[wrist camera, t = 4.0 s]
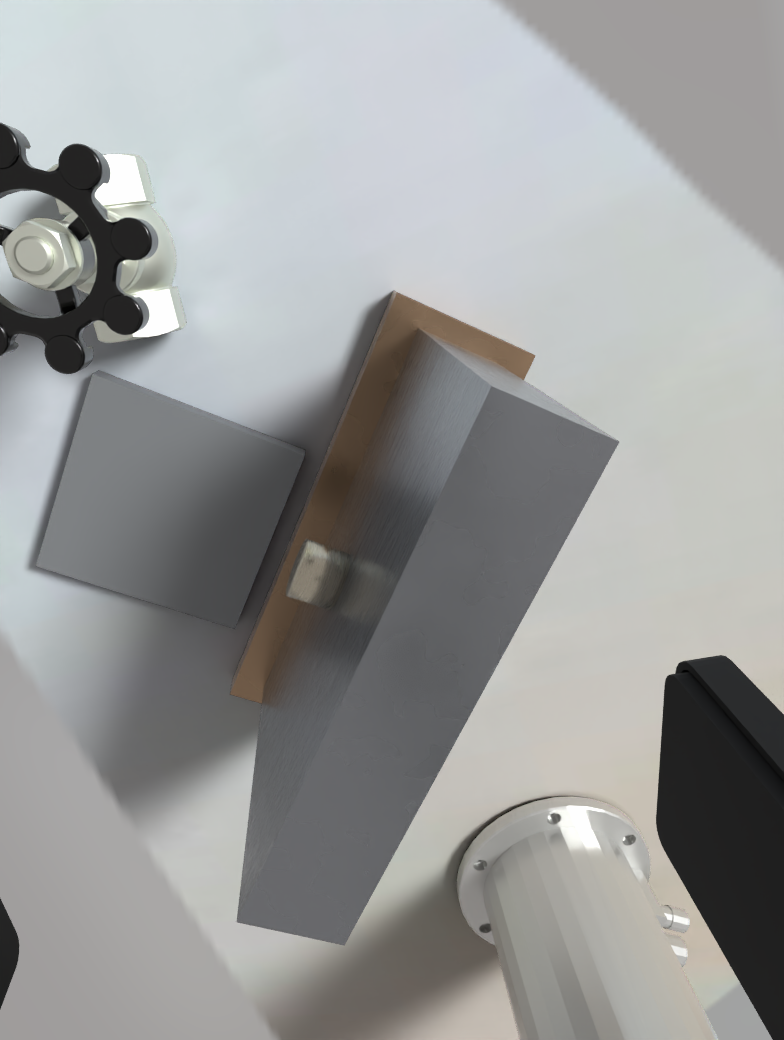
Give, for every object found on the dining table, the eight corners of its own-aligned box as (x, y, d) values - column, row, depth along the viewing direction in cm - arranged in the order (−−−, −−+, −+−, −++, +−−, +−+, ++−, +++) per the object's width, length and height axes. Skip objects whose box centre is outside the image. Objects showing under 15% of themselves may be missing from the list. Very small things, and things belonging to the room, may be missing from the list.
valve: (82, 341, 32) (-44, 393, 21) (31, 180, 29) (-141, 141, 18) (228, 316, 32) (182, 355, 21) (190, 155, 30) (115, 100, 18)
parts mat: (305, 449, 35) (305, 455, 34) (236, 619, 37) (234, 629, 37) (98, 370, 32) (92, 373, 31) (43, 557, 35) (35, 566, 34)
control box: (526, 351, 34) (682, 428, 20) (351, 713, 40) (371, 972, 26) (387, 287, 32) (446, 321, 18) (227, 676, 39) (176, 931, 24)
